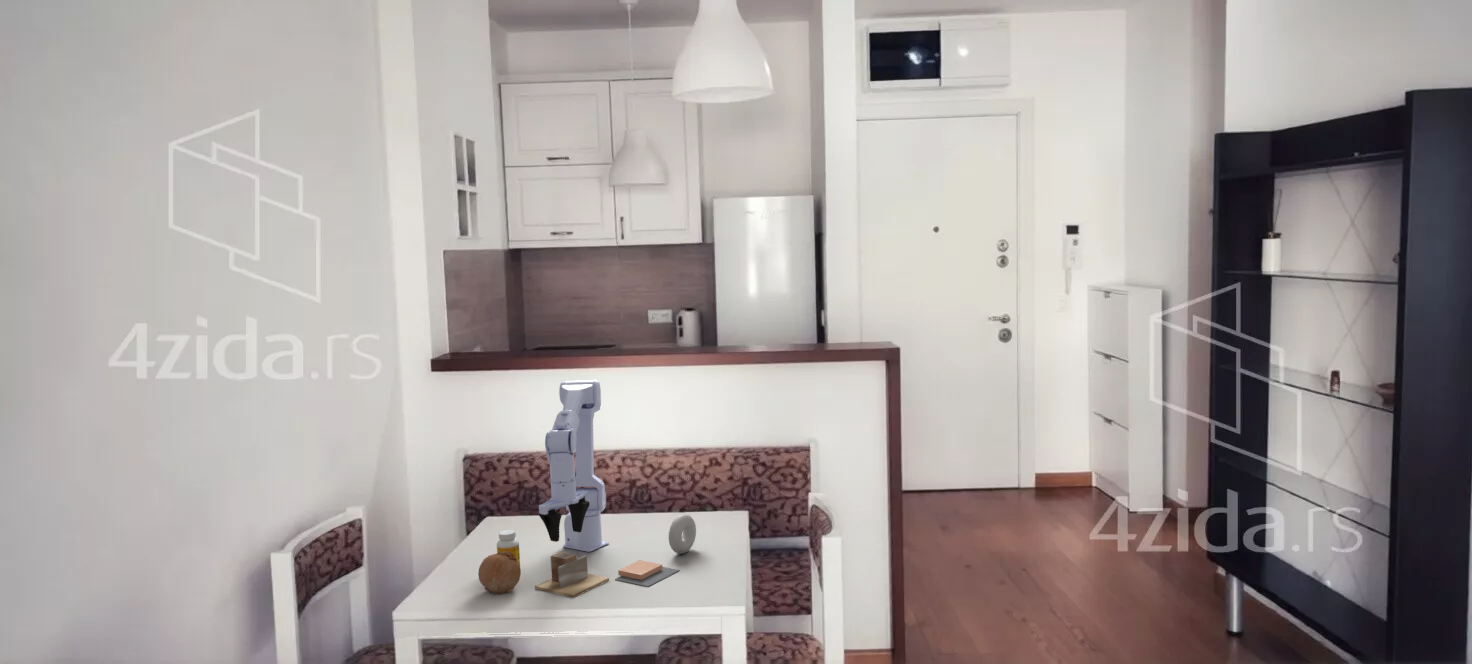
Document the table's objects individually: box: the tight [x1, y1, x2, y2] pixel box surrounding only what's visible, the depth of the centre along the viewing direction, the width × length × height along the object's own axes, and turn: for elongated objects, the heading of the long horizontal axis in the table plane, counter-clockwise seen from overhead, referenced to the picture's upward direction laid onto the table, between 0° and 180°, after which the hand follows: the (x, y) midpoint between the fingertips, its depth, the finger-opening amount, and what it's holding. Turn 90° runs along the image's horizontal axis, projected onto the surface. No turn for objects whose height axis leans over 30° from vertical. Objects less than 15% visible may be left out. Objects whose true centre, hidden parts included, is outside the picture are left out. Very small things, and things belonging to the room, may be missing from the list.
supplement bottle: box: [496, 529, 521, 566], centre depth 225 cm, size 5×5×10 cm
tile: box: [617, 559, 663, 580], centre depth 220 cm, size 1×8×7 cm
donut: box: [668, 513, 697, 555], centre depth 233 cm, size 10×3×10 cm, turn 150°
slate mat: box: [614, 566, 680, 588], centre depth 218 cm, size 10×12×1 cm
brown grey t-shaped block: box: [550, 551, 589, 589], centre depth 215 cm, size 6×9×6 cm, turn 147°
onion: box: [477, 551, 522, 595], centre depth 211 cm, size 10×9×10 cm
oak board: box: [534, 573, 610, 598], centre depth 214 cm, size 12×12×1 cm
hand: (566, 536), depth 218 cm, fingers open, 7 cm apart
